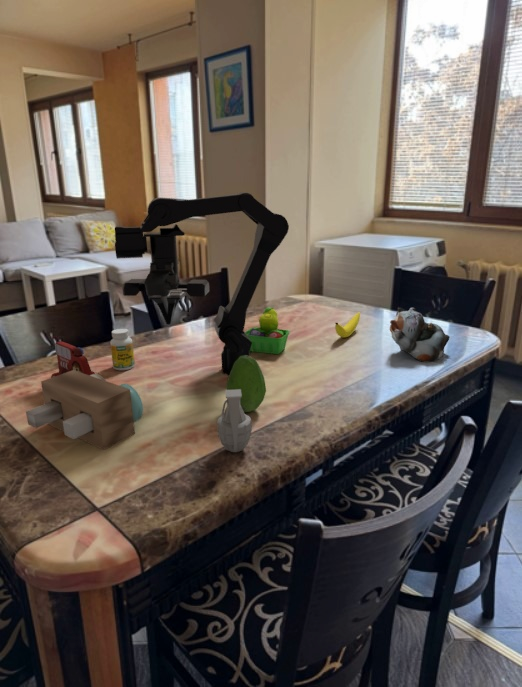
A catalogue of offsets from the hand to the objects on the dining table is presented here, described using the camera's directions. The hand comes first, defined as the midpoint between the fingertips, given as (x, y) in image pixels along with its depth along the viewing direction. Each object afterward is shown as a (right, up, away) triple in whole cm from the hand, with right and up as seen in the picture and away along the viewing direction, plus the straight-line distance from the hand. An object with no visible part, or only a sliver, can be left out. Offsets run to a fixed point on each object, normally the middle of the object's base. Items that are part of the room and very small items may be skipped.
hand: (169, 324), depth 115 cm
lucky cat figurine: (+63, -8, +17) cm, 66 cm away
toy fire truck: (-21, -15, -2) cm, 26 cm away
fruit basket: (+23, -6, +22) cm, 32 cm away
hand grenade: (+17, -23, -29) cm, 41 cm away
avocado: (+18, -18, -14) cm, 29 cm away
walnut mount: (-12, -21, -21) cm, 32 cm away
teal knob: (-8, -21, -24) cm, 33 cm away
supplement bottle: (-13, -11, +10) cm, 20 cm away
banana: (+47, -2, +33) cm, 58 cm away
